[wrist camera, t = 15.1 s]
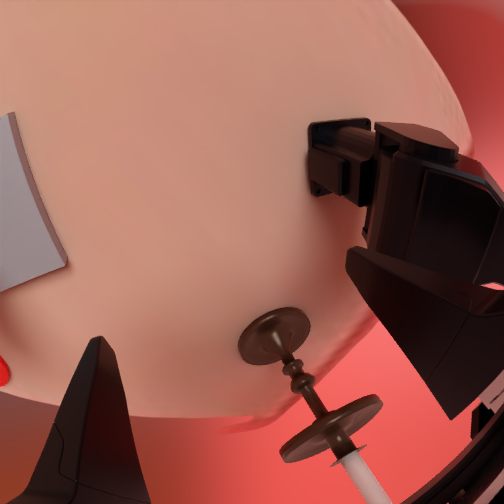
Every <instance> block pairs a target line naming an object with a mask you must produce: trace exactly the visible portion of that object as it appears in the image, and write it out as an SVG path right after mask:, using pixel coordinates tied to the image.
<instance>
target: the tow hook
mask: <svg viewBox="0 0 504 504" xmlns="http://www.w3.org/2000/svg"><path fill="white" fill-rule="evenodd" d="M8 380H9V369H8V366H7V364H6V363H5V361H4V360H3V358H2V357H1V356H0V387H1V386H4V385H5V384H7V382H8Z"/></svg>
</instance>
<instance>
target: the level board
mask: <svg viewBox="0 0 504 504" xmlns="http://www.w3.org/2000/svg"><path fill="white" fill-rule="evenodd" d="M67 258H68V257H67V255H66V253H65V251H64V249H63V247H62V245H61V243H60V241H59V239H58V237H57V235H56V232H55V230H54V228H53V226H52V224H51V221H50V219H49V217H48V215H47V212H46V210H45V207H44V205H43V203H42V200H41V198H40V195H39V192H38V190H37V187H36V184H35V182H34V179H33V176H32V173H31V170H30V167H29V164H28V161H27V158H26V155H25V152H24V148H23V145H22V141H21V138H20V134H19V130H18V126H17V122H16V118H15V114H14V112H11V113H7V114H5V115H4V116H2V117H1V118H0V292H1V291H4V290H6V289H8V288H11V287H13V286H16V285H18V284H20V283H23V282H25V281H28V280H30V279H33V278H35V277H38V276H40V275H43V274H45V273H48V272H50V271H53V270H55V269H58V268H61V267H63V266H65V264H66V261H67Z"/></svg>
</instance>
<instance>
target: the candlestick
mask: <svg viewBox="0 0 504 504" xmlns="http://www.w3.org/2000/svg"><path fill="white" fill-rule="evenodd" d="M310 327H311V325H310V321H309V319H308V317H307V316H306V315H305V313H304V312H303V311H301V310H300V309H297V308H292V307H285V308H279V309H276V310H273V311H270V312H268V313H266V314H264V315H262V316H260V317H259V318H257V319H256V320H254V321H253V322H252V323H251V324H250V325H249V326H248V327H247V328H246V329H245V330H244V331H243V333H242V335H241V336H240V339H239V341H238V350H239V352H240V354H241V356H242V358H243V360H244V361H246V362H247V363H249V364H252V365H267V364H271V363H274V362H277V361H279V360H282V362H283V364H284V365H285V366H284V367H283V369H282V372H283V373H284V375H289V376H290V377H291V379H292V381H291V391H292V392H293V393H295V394H302V395H303V397H304V399H305V400H306V402H307V404H308V405H309V407H310V409H311V410H312V412H313V414H314V415H315V417H316V420H315V421H314V422H313V423H312V425H310V426H309V427H307V428H306V429H304V430H302V431H301V432H300V433H298V434H297V435H295V436H294V437H293V438H291V439H290V440H289V441H288V442H286V443H285V444H284V445H283V446H282V447H281V449H280V450H279V453H280V455H281V457H282V459H283V461H284V462H286V463H292V462H297V461H300V460H303V459H306V458H309V457H312V456H314V455H316V454H319V453H321V452H323V451H325V450H327V449H329V448H331V450H332V451H333V453H334V455H335V456H336V458H337V461H336V462H335V463H333V464H332V465H331V466H330V467H332V466H334V465H336V464H338V463H340V462H341V464H342V465H343V467H344V469H345V470H346V472H347V473H348V475H349V476H350V478H351V479H352V481H353V483H354V484H355V486H356V487H357V489H358V490H359V492H360V493H361V495H362V496H363V498H364V499H365V501H366V502H367V504H393V503H392V501H391V500H390V499H389V497H388V496H387V494H386V493H385V491H384V490H383V488H382V487H381V486H380V484H379V482H378V481H377V480H376V478H375V477H374V475H373V474H372V472H371V471H370V469H369V468H368V466H367V465H366V463H365V462H364V460H363V459H362V457H361V456H360V454H359V453H358V452H359V451H360V450H362V449H363V448H364V447H365V446H367V445H364V446H362V447H359V448H356V446H355V445H354V443H353V442H352V440H351V439H350V437H349V436H351V435H352V434H353V433H355V432H356V431H358V430H359V429H360V428H362V427H363V426H364V425H365V424H367V423H368V422H369V421H370V420H371V419H372V418H373V417H374V416H375V415H376V414H377V413H378V412H379V410H380V409H381V408H382V406H383V402H382V401H381V400H380V398H379V397H378V396H377V395H376V394H371V395H367V396H364V397H362V398H359V399H357V400H355V401H353V402H351V403H349V404H347V405H345V406H343V407H341V408H339V409H337V410H333V411H330V412H328V411H327V409H326V408H325V406H324V404H323V403H322V401H321V400H320V398H319V397H318V395H317V393H316V392H315V390H314V389H313V386H314V384H315V377H314V376H313V375H311V374H309V373H304V371H303V370H302V367H303V362H302V360H300V359H296V360H295V358H294V357H293V355H292V353H293V352H294V351H296V350H297V349H298V348H299V347H300V346H301V345H302V344H303V342H304V341H305V340H306V338H307V336H308V334H309V332H310Z"/></svg>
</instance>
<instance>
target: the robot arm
mask: <svg viewBox="0 0 504 504" xmlns="http://www.w3.org/2000/svg"><path fill="white" fill-rule="evenodd" d="M365 122H366V125H365ZM315 126H316V130H315V131H314V127H315ZM308 130H309V151H308V152H309V176H310V178H311V193H312V194H313V195H314V196H316V197H319V196H322V195H326V194H330V193H335V194H336V195H338V196H343V197H344V198H346V199H348V200H349V201H351V202H352V203H354V204H355V205H357V206H358V207H363V206H365V207H367V213H366V219H365V225H364V227H363V229H362V236H363V237H364V239H365V240H366V243H367V248H368V249H366V248H362V247H359V246H355V247H353V248H350V249H348V251H347V255H346V264H345V268H346V272H347V274H348V275H349V277H350V278H351V280H352V281H353V283H354V284H355V286H356V288H357V289H358V291H359V292H360V294H361V296H362V297H363V299H364V300H365V302H366V303H367V304H368V306H369V307H370V309H371V310H372V311H373V312H374V314H375V315H376V316H377V318H378V319H379V320H380V321H381V323H382V324H383V325H384V327H385V328H386V329H387V330H388V332H389V333H390V335H391V336H392V337H393V339H394V340H395V341H396V343H397V344H398V345H399V347H400V348H401V350H402V351H403V352H404V354H405V355H406V356H407V358H408V359H409V360H410V362H411V363H412V365H413V366H414V368H415V369H416V370H417V372H418V373H419V375H420V376H421V378H422V379H423V380H424V382H425V383H426V385H427V386H428V388H429V389H430V391H431V392H432V394H433V395H434V397H435V398H436V400H437V401H438V403H439V404H440V406H441V407H442V409H443V410H444V412H445V413H446V415H447V416H448V418H449V419H450V420H453V419H454V418H455V417H456V416H457V415H459V414H460V413H461V412H462V411H463V410H464V409H465V408H466V407H467V406H468V405H470V404H471V403H472V402H473V401H474V400H475V399H476V398H477V397H479V399H480V400H481V402H480V404H478V406H477V407H476V408H475V409H474V410H473V411H472V422H471V436H470V437H471V439H472V441H471V442H470V443H469V444H468V445H467V447H466V448H465V449H464V450H463V451H462V452H461V453H460V454H459V455H458V456H457V457H456V458H455V459H454V460H453V461H451V463H449V464H448V465H447V466H446V467H445V468H444V469H443V470H442V471H441V472H440V473H438V474H437V475H436V476H435V477H434V478H433V479H432V480H430V481H429V482H428V483H427V484H425V485H424V486H423V487H422V488H420V489H419V490H418V491H417V492H416V493H414V494H413V495H411V496H410V497H409V498H407V499H406V500H405V501H403V502H402V503H401V504H447V503H449V504H504V290H495V289H491V288H487V287H483V286H481V285H486V284H490V283H495V284H499V285H501V286H504V192H503V191H502V189H501V188H500V187H499V186H498V184H497V183H496V181H495V180H494V179H493V177H492V176H491V175H490V174H489V173H488V171H487V170H486V169H485V168H484V167H483V165H482V164H481V163H480V162H478V161H477V160H474V159H472V158H469V157H466V156H464V155H461V154H458V152H459V147H458V146H457V145H456V144H455V143H454V142H452V141H451V140H450V139H449V138H448V137H447V136H445V135H444V134H443V133H442V132H440V131H438V130H434V129H431V128H427V127H424V126H420V125H416V124H407V123H391V122H375V125H374V130H376V132H371V121H370V119H368V118H351V119H339V120H329V121H320V122H313V123H311V124H310V125H309V128H308ZM317 189H318V191H317V192H316V190H317ZM54 422H55V423H53V425H52V428H51V431H50V433H49V436H48V438H47V441H46V444H45V446H44V448H43V451H42V453H41V456H40V458H39V460H38V463H37V465H36V467H35V470H34V472H33V474H32V477H31V479H30V482H29V484H28V486H27V487H26V489H25V490H24V491H23V492H22V493H21V494H20V495H19V496H17V497H16V498H14V499H12V500H11V501H9V502H8V503H6V504H151V501H150V497H149V494H148V491H147V488H146V485H145V481H144V478H143V474H142V471H141V467H140V463H139V459H138V455H137V452H136V447H135V443H134V438H133V434H132V429H131V424H130V419H129V413H128V408H127V402H126V397H125V392H124V388H123V384H122V380H121V377H120V373H119V368H118V364H117V360H116V355H115V353H114V351H113V349H112V348H111V346H110V345H109V344H108V342H107V341H106V340H105V338H104V337H103V336H97V337H94V338H92V339H91V340H90V341H89V343H88V345H87V347H86V349H85V351H84V353H83V356H82V358H81V360H80V362H79V364H78V366H77V368H76V370H75V373H74V375H73V377H72V379H71V381H70V384H69V386H68V388H67V391H66V393H65V395H64V398H63V400H62V403H61V405H60V408H59V410H58V413H57V415H56V418H55V420H54Z"/></svg>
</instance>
